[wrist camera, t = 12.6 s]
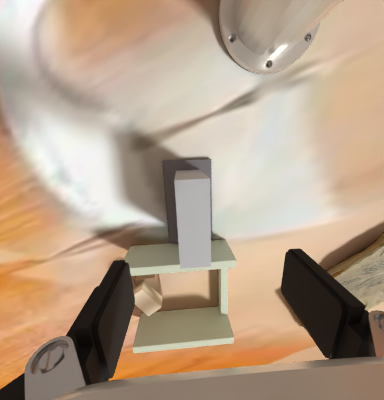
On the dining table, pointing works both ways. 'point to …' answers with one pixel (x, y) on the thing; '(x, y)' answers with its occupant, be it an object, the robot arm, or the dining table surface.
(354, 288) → the stone slab
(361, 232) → the dining table surface
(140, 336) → the rack
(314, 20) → the robot arm
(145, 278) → the offcut
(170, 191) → the panel
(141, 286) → the offcut
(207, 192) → the tall grey upright block
